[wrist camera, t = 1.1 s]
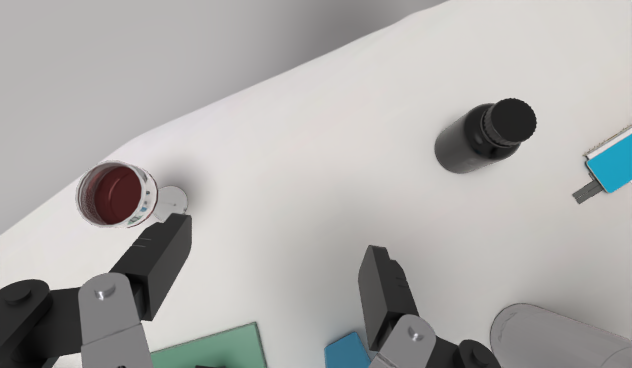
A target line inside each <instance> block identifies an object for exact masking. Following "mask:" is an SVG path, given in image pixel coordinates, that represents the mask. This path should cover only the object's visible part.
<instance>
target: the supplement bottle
mask: <svg viewBox="0 0 632 368" xmlns="http://www.w3.org/2000/svg"><path fill="white" fill-rule="evenodd" d="M536 124H537V122H536V117H535V114H534V111H533V110H532V109H531V107H530V106H529V105H528V104H527V103H525V102H524V101H521V100H519V99H515V98H513V99H512V98H509V99H504V100H501V101H499V102H498V103H496V104H494V103H487V104H482V105H479V106H477V107H475V108H473V109H472V110H470V111H469V112H468V113H466V114H465V115H464V116H462V117H461V118H460V119H458V120H457V121H456V122H454V123H453V124H452V125H450V126H449V127H448V128H447V129H445V130H444V131H443V132H442V133H441V134H440V135H439V137H438V138H437V141H436V144H435V153H436V156H437V159H438V161H439V162H440V163H441V165H442V166H443V167H445V168H446V169H447V170H449V171H452V172H455V173H467V172H470V171H474V170H476V169H479V168H482V167H485V166H487V165H490V164H493V163H495V162H498V161H501V160H503V159H506V158H508V157H510V156H511V155H512V154H514V153H515V152H516V151H517V149H518V148H519V146H520V144H521V142H524V141H525V140H527V139H529V138H530V136H532V135H533V132H535V128H536Z"/></svg>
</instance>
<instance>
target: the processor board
mask: <svg viewBox="0 0 632 368" xmlns="http://www.w3.org/2000/svg"><path fill="white" fill-rule="evenodd" d="M150 355H151V359H152V363H153V367H154V368H195V366H196V365H200V366H208V367H217V368H267V367H266V363H265V359H264V355H263V351H262V346H261V342H260V338H259V334H258V329H257V325H256V322H254V323H251V324H247V325H244V326H240V327H237V328H234V329H230V330H227V331H223V332H220V333H217V334H213V335H210V336H207V337H203V338H200V339H196V340H193V341H190V342H186V343H183V344H180V345H176V346H173V347H169V348H166V349H163V350H159V351H156V352H152V353H150Z"/></svg>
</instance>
